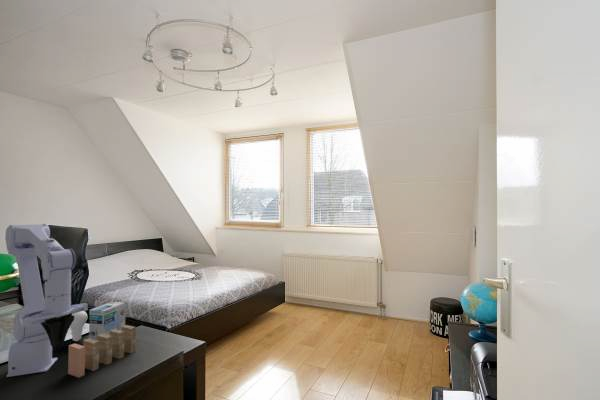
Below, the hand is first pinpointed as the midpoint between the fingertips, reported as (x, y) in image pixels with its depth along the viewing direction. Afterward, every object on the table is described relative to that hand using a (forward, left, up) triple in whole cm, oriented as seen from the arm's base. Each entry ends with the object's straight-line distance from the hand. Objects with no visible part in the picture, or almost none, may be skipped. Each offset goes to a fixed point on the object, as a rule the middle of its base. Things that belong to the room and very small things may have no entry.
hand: (57, 344), depth 84 cm
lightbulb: (-4, +30, -11) cm, 32 cm away
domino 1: (+3, +4, -10) cm, 12 cm away
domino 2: (+6, +7, -10) cm, 14 cm away
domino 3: (+9, +9, -10) cm, 17 cm away
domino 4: (+12, +12, -10) cm, 20 cm away
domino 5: (+15, +15, -10) cm, 24 cm away
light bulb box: (+5, +33, -11) cm, 35 cm away
